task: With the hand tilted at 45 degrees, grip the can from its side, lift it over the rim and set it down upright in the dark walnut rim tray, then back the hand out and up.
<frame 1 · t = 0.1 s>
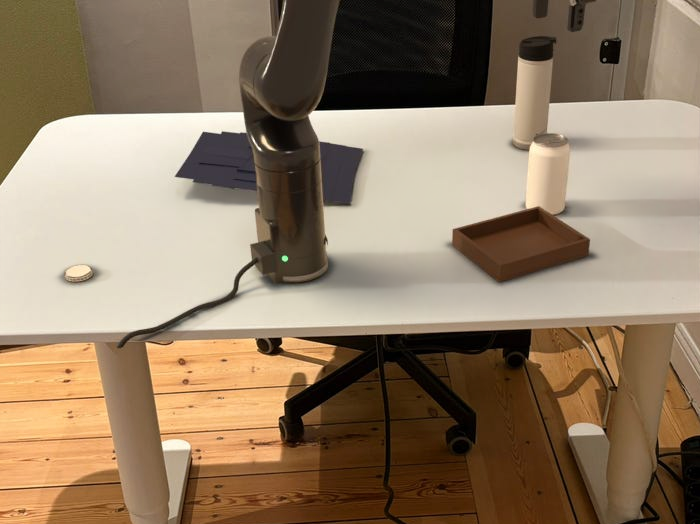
hand: (556, 24, 140), 29 cm above the table, tool pointing down, fingers open, 8 cm apart
can: (544, 209, 155), on the table
travel mug: (530, 145, 178), on the table
papers: (274, 176, 167), on the table
tray: (519, 250, 143), on the table
cream ridged disc: (79, 275, 138), on the table
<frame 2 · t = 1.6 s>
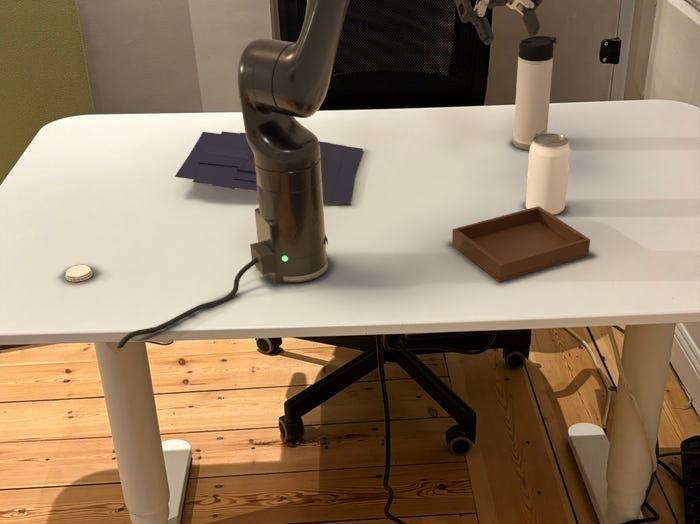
hand: (512, 37, 149), 25 cm above the table, tool tilted 45°, fingers open, 8 cm apart
nothing on the table moved.
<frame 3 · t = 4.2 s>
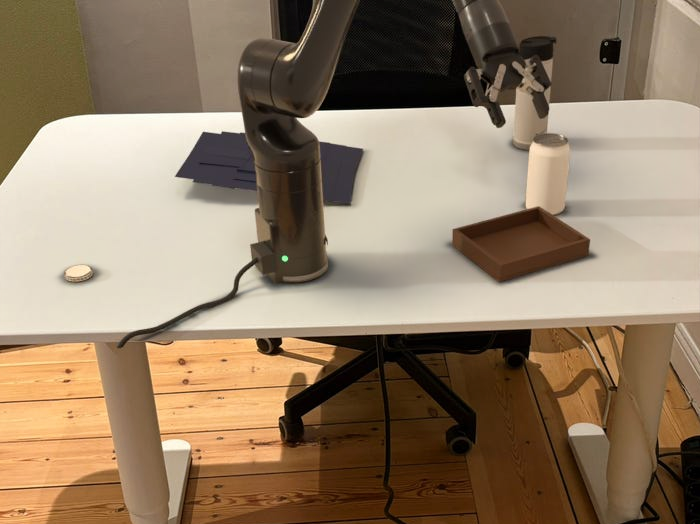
hand: (523, 121, 153), 13 cm above the table, tool tilted 45°, fingers open, 8 cm apart
nothing on the table moved.
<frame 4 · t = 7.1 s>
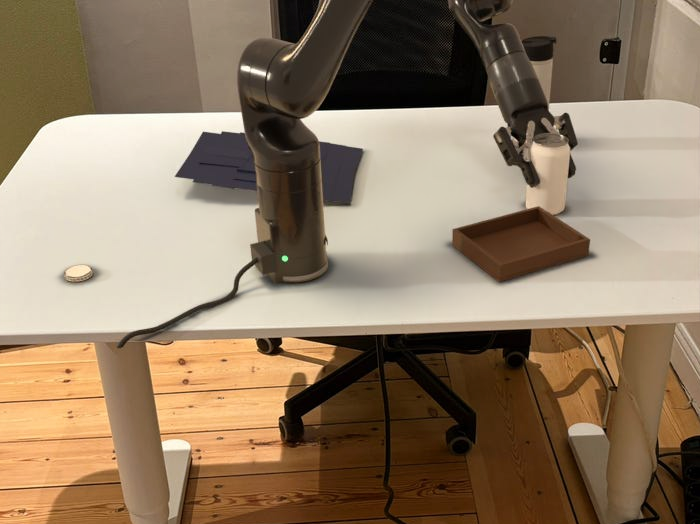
hand: (553, 180, 151), 6 cm above the table, tool tilted 45°, fingers closed on can, 6 cm apart
can: (544, 209, 155), on the table, touching gripper
everything else where it was.
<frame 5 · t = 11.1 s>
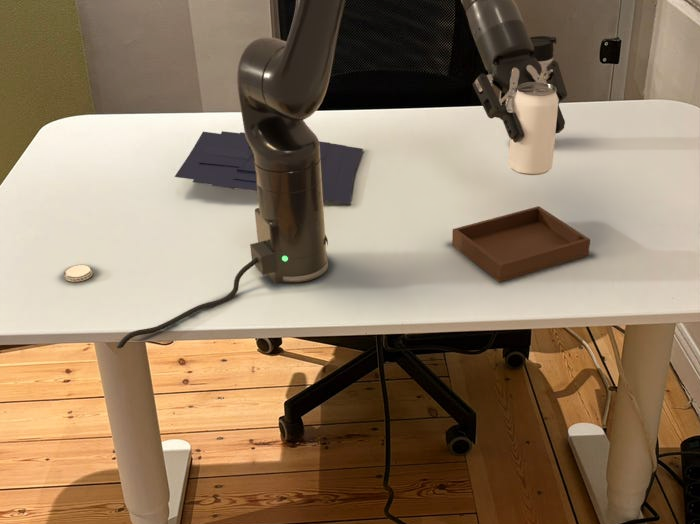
hand: (539, 135, 135), 17 cm above the table, tool tilted 45°, fingers closed on can, 6 cm apart
can: (530, 168, 140), point 12 cm above the table, touching gripper
everything else where it was.
when the fingers open (6 cm above the table, at t = 15.4 s): can stays where it is, resting on tray.
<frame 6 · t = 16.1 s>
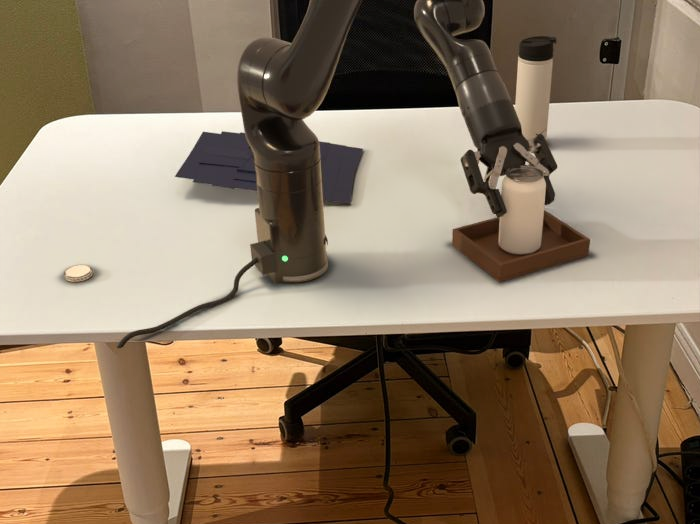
hand: (526, 209, 138), 7 cm above the table, tool tilted 45°, fingers open, 8 cm apart
can: (519, 247, 143), resting on tray
everything else where it was.
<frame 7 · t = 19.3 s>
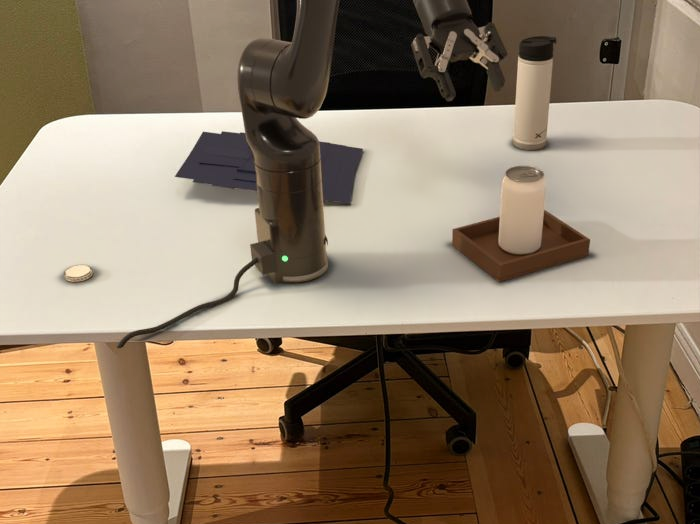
hand: (476, 93, 140), 21 cm above the table, tool tilted 45°, fingers open, 8 cm apart
nothing on the table moved.
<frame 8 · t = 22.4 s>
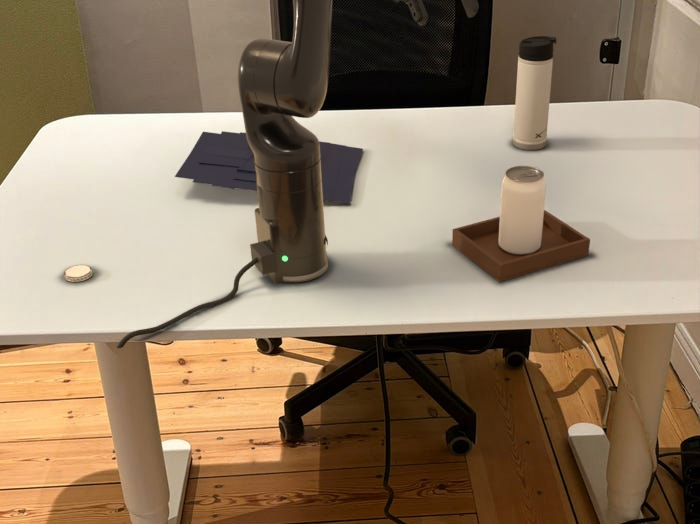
hand: (449, 18, 138), 31 cm above the table, tool tilted 45°, fingers open, 8 cm apart
nothing on the table moved.
at the end: can inside the target area in the tray (0.2 cm from its centre), point 0.4 cm above the tray's base; can tilted 0°; the gripper is holding nothing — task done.
